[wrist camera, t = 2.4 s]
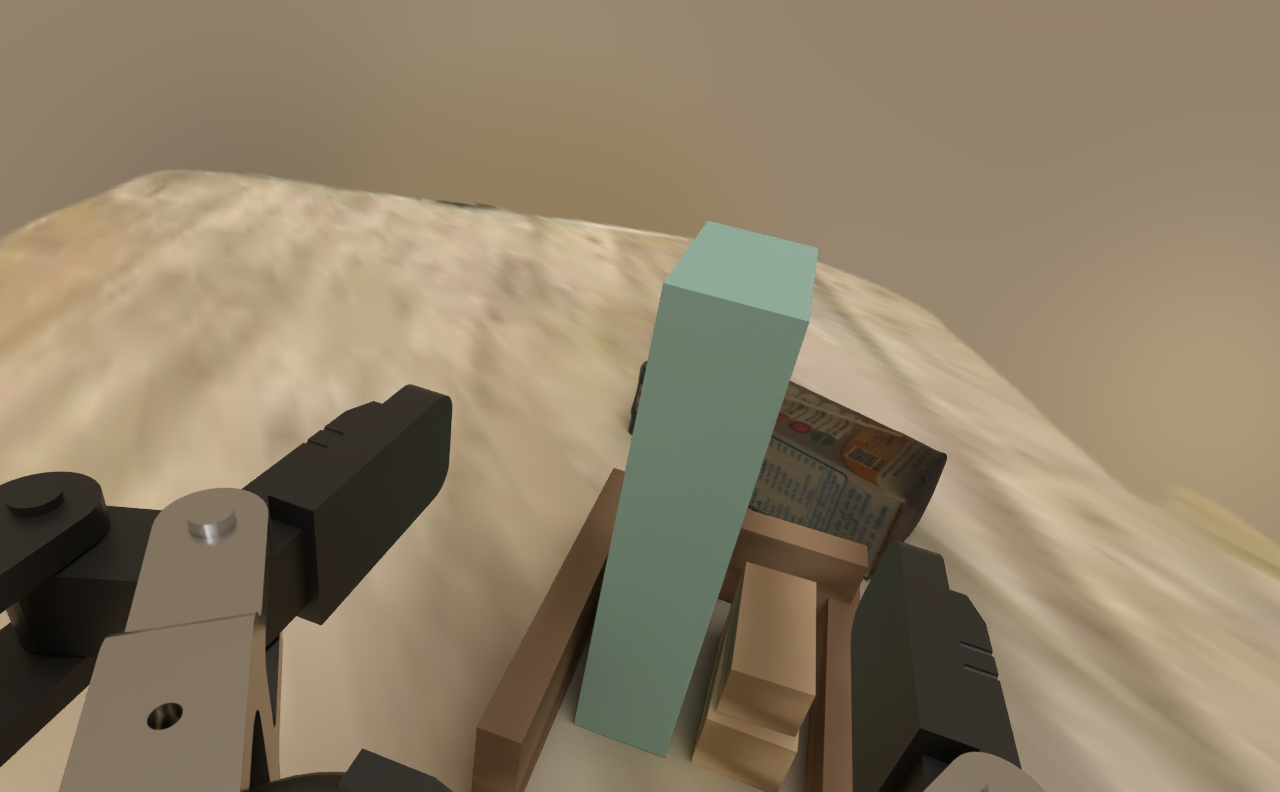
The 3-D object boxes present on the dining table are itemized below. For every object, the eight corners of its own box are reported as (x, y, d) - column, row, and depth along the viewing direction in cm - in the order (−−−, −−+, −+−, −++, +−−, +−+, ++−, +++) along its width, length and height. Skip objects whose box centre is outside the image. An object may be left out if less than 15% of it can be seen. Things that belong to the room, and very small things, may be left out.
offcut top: (799, 621, 32) (816, 582, 30) (795, 737, 26) (815, 696, 25) (732, 601, 32) (746, 561, 31) (715, 711, 27) (731, 669, 25)
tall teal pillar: (696, 629, 34) (818, 248, 24) (664, 757, 28) (808, 321, 18) (620, 604, 34) (708, 220, 24) (573, 724, 28) (663, 282, 18)
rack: (844, 616, 36) (877, 549, 34) (844, 954, 23) (897, 884, 20) (600, 537, 38) (613, 467, 36) (470, 807, 25) (476, 727, 22)
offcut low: (790, 662, 33) (809, 618, 32) (774, 797, 28) (797, 752, 26) (720, 637, 34) (735, 593, 32) (689, 765, 28) (706, 718, 26)
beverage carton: (687, 399, 54) (706, 325, 50) (919, 530, 44) (960, 449, 41) (622, 434, 48) (638, 352, 45) (872, 591, 39) (916, 504, 35)
